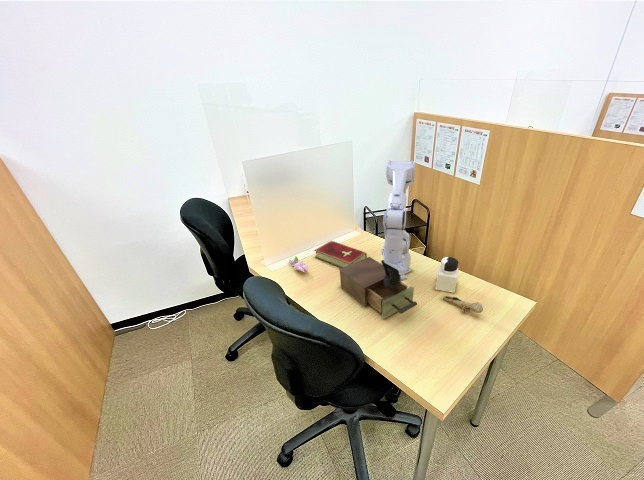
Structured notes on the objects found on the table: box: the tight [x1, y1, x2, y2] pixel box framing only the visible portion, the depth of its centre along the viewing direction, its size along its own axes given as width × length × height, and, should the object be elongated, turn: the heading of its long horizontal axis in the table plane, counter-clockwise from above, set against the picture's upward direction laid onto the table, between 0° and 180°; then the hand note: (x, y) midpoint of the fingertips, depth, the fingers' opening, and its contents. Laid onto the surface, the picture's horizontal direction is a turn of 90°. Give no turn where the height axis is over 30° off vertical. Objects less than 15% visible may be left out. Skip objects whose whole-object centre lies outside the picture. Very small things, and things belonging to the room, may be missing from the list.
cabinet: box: [339, 256, 386, 308], centre depth 110 cm, size 16×15×9 cm
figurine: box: [442, 295, 484, 314], centre depth 100 cm, size 4×4×15 cm
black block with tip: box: [384, 274, 408, 289], centre depth 99 cm, size 8×3×3 cm, turn 110°
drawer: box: [366, 281, 418, 320], centre depth 101 cm, size 19×13×7 cm
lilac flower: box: [289, 255, 309, 273], centre depth 124 cm, size 6×6×15 cm
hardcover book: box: [314, 240, 368, 269], centre depth 131 cm, size 12×21×4 cm, turn 52°
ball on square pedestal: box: [435, 256, 459, 294], centre depth 109 cm, size 7×7×12 cm
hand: (392, 281), depth 99 cm, fingers closed on black block with tip, 3 cm apart
